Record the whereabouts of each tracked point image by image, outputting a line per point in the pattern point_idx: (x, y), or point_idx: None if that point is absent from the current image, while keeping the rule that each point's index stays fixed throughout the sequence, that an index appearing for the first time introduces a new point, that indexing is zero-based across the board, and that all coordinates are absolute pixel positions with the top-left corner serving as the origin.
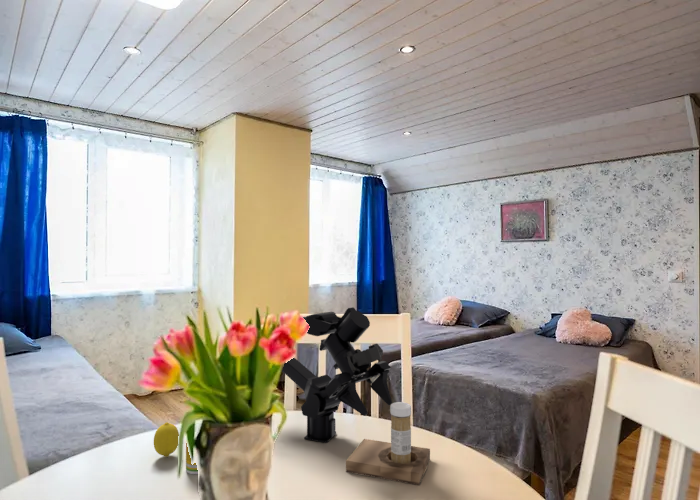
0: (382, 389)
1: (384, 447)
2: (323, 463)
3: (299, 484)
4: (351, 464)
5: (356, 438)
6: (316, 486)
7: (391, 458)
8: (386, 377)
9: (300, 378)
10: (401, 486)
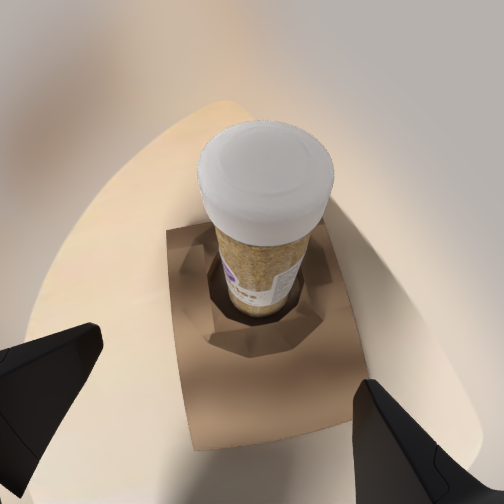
0: (27, 395)
1: (223, 358)
2: (349, 482)
3: (451, 440)
4: None
5: (146, 485)
6: (443, 410)
7: (275, 307)
8: None
9: None
10: (340, 253)
